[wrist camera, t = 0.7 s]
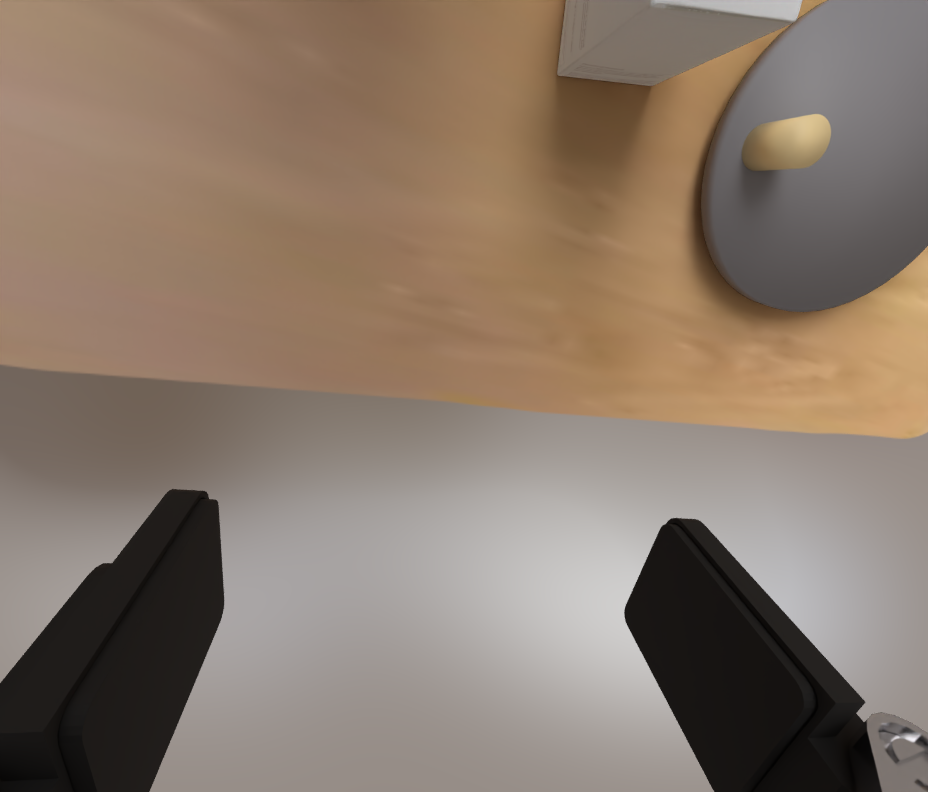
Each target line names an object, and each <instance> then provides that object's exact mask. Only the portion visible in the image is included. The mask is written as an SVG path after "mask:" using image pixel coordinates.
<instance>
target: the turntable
mask: <svg viewBox="0 0 928 792" xmlns="http://www.w3.org/2000/svg"><path fill="white" fill-rule="evenodd" d="M701 215H702V227H703V232H704V237H705V242H706V245H707V247H708V250H709V253H710V256H711V258H712V260H713V262H714V264H715V266H716V268H717V270H718V271H719V273H720V274H721V275H722V276H723V278H724V279H725V280H726V282H727V283H728V284H729V285H731V286H732V287H733V288H734V289H735V290H736V291H737V292H739V293H740V294H742V295H743V296H745V297H747V298H748V299H750V300H753V301H755V302H758V303H760V304H763V305H766V306H770V307H773V308H777V309H781V310H786V311H795V312H809V311H819V310H824V309H828V308H833V307H836V306H839V305H842V304H845V303H848V302H851V301H853V300H855V299H857V298H859V297H861V296H864V295H866V294H868V293H869V292H871V291H873V290H874V289H876V288H878V287H879V286H881V285H883V284H884V283H886V282H887V281H888V280H890V279H891V278H892V277H894V276H895V275H897V274H898V273H899V272H900V271H902V270H903V269H904V268H905V267H906V266H907V265H908V264H910V263H911V262H912V261H913V260H914V259H915V258H916V257H917V256H918V255H919V254H920V253H921V252H922V251H923V250H924V249H925V248H926V247H927V246H928V0H827V1H825V2H823V3H821V4H819V5H817V6H816V7H814V8H813V9H811V10H810V11H808V12H807V13H806V14H804V15H803V16H801V17H800V18H798V19H797V20H796V21H795V22H794V23H792V24H791V25H790V26H789V27H788V28H786V29H785V30H784V31H783V32H782V33H781V34H780V35H778V36H777V37H776V38H775V40H774V41H773V42H772V43H771V44H770V45H769V46H768V47H767V48H766V49H765V50H764V51H763V53H762V54H761V55H760V56H759V57H758V58H757V60H756V61H755V62H754V64H753V65H752V66H751V68H750V69H749V70H748V72H747V73H746V74H745V76H744V77H743V79H742V80H741V82H740V84H739V85H738V87H737V89H736V90H735V92H734V93H733V95H732V97H731V98H730V100H729V102H728V104H727V106H726V109H725V111H724V113H723V115H722V117H721V119H720V121H719V124H718V126H717V129H716V131H715V134H714V137H713V139H712V142H711V146H710V149H709V153H708V157H707V160H706V164H705V170H704V176H703V182H702V194H701Z"/></svg>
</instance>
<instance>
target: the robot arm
mask: <svg viewBox="0 0 928 792" xmlns="http://www.w3.org/2000/svg"><path fill="white" fill-rule="evenodd" d="M223 609H224V589H223V572H222V557H221V540H220V523H219V507H218V502H217V500H212V499H209V497H208V494H207V492H205V491H195V490H177V489H172V490H170V491H168V492H167V494H165V496H164V497H163V498H162V500H161V501H160V502H159V504H158V505H157V506H156V507H155V509H154V510H153V511H152V513H151V514H150V515H149V517H148V518H147V519H146V520H145V522H144V523H143V524H142V525H141V527H140V528H139V529H138V531H137V532H136V533H135V535H134V536H133V537H132V538H131V540H130V541H129V543H128V544H127V545H126V546H125V548H124V549H123V550H122V551H121V553H120V554H119V555H118V557H117V558H116V559H115V560H114V562H113V563H103V564H101V565H99V566H98V567H96V568H95V569H94V570H93V571H92V572H91V573H90V574H89V575H88V576H87V577H86V578H85V580H84V581H83V582H82V583H81V584H80V586H79V587H78V588H77V590H76V591H75V592H74V593H73V594H72V596H71V597H70V598H69V599H68V601H67V602H66V603H65V604H64V605H63V607H62V608H61V609H60V610H59V612H58V613H57V614H56V615H55V616H54V618H53V619H52V620H51V622H50V623H49V624H48V625H47V627H46V628H45V629H44V630H43V631H42V633H41V634H40V635H39V636H38V638H37V639H36V640H35V641H34V642H33V644H32V645H31V646H30V647H29V649H28V650H27V651H26V652H25V653H24V655H23V656H22V657H21V658H20V660H19V661H18V662H17V663H16V665H15V666H14V667H13V668H12V670H11V671H10V672H9V673H8V674H7V676H6V677H5V678H4V679H3V681H2V682H1V683H0V792H149V791H150V789H151V786H152V784H153V782H154V779H155V777H156V774H157V772H158V770H159V767H160V765H161V762H162V760H163V758H164V755H165V753H166V750H167V748H168V746H169V743H170V740H171V738H172V736H173V734H174V731H175V729H176V726H177V724H178V722H179V719H180V717H181V715H182V712H183V710H184V707H185V705H186V703H187V700H188V698H189V695H190V693H191V691H192V688H193V686H194V683H195V681H196V678H197V676H198V674H199V671H200V669H201V666H202V664H203V662H204V659H205V657H206V654H207V652H208V650H209V647H210V645H211V643H212V640H213V638H214V635H215V633H216V631H217V628H218V626H219V623H220V621H221V618H222V614H223ZM624 613H625V620H626V623H627V625H628V627H629V629H630V631H631V633H632V635H633V637H634V639H635V641H636V643H637V645H638V647H639V649H640V651H641V652H642V654H643V656H644V658H645V660H646V662H647V664H648V666H649V668H650V670H651V672H652V673H653V675H654V677H655V679H656V681H657V683H658V685H659V687H660V689H661V691H662V693H663V695H664V696H665V698H666V700H667V702H668V704H669V706H670V708H671V710H672V712H673V714H674V716H675V718H676V720H677V721H678V723H679V725H680V727H681V729H682V731H683V733H684V735H685V737H686V739H687V740H688V743H689V744H690V746H691V748H692V750H693V752H694V754H695V756H696V758H697V760H698V762H699V764H700V766H701V767H702V769H703V771H704V773H705V775H706V777H707V779H708V781H709V783H710V785H711V787H712V789H713V790H714V792H928V733H927V732H925V731H924V730H922V729H921V728H919V727H918V726H916V725H914V724H913V723H911V722H909V721H907V720H904V719H902V718H900V717H897V716H895V715H891V714H887V713H882V712H881V713H875V714H871V716H870V717H869V718H868V719H867V720H866V721H865V722H863V721H862V720H861V718H860V717H859V716H858V715H857V714H856V713H857V712H858V710H859V709H860V708H861V707H862V705H863V704H864V703H865V701H864V700H863V699H862V698H861V697H860V695H859V694H858V693H857V692H856V691H855V690H854V689H853V688H852V687H851V686H850V685H849V683H848V682H847V681H846V680H845V679H844V678H843V677H842V676H841V675H840V673H839V672H838V671H837V670H836V669H835V668H834V667H833V666H832V665H831V664H830V663H829V661H828V660H827V659H826V658H825V657H824V656H823V655H822V654H821V653H820V652H819V651H818V649H817V648H816V647H815V646H814V645H813V644H812V643H811V642H810V640H809V639H808V638H807V637H806V636H805V635H804V634H803V633H802V632H801V631H800V629H799V628H798V627H797V626H796V625H795V624H794V623H793V622H792V621H791V620H790V619H789V617H788V616H787V615H786V614H785V613H784V612H783V611H782V610H781V609H780V608H779V606H778V605H777V604H776V603H775V602H774V601H773V600H772V599H771V598H770V596H769V595H768V594H767V593H766V592H765V591H764V590H763V589H762V588H761V587H760V585H759V584H758V583H757V582H756V581H755V580H754V579H753V578H752V577H751V576H750V575H749V573H748V572H747V571H746V570H745V569H744V568H743V567H742V566H741V565H740V563H739V562H738V561H737V560H736V559H735V558H734V557H733V556H732V555H731V554H730V552H729V551H728V550H727V549H726V548H725V547H724V546H723V545H722V544H721V543H720V541H719V540H718V539H717V538H716V537H715V536H714V535H713V534H712V533H711V532H710V530H709V529H708V528H707V527H706V526H705V525H704V524H703V523H702V522H701V521H699V520H696V519H681V518H673V519H670V520H669V521H668V522H667V523H666V524H665V525H663V526H662V527H661V529H660V531H659V533H658V535H657V537H656V539H655V542H654V544H653V546H652V548H651V551H650V553H649V555H648V557H647V560H646V562H645V564H644V566H643V568H642V571H641V573H640V575H639V577H638V580H637V582H636V584H635V586H634V588H633V591H632V593H631V595H630V597H629V600H628V602H627V604H626V607H625V612H624Z"/></svg>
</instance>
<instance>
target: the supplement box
mask: <svg viewBox="0 0 928 792" xmlns="http://www.w3.org/2000/svg"><path fill="white" fill-rule="evenodd" d="M801 3H802V0H566V3H565V12H564V20H563V29H562V37H561V46H560V54H559V63H558V70H557V75H558V76H567V77H574V78H584V79H592V80H602V81H610V82H620V83H628V84H637V85H646V86H654V85H656V84H658V83H660V82H662V81H664V80H667V79H669V78H671V77H674V76H676V75H678V74H680V73H683V72H685V71H687V70H689V69H691V68H694V67H696V66H698V65H700V64H703V63H705V62H707V61H709V60H712V59H714V58H716V57H719V56H721V55H723V54H725V53H728V52H730V51H732V50H734V49H736V48H739V47H741V46H743V45H745V44H748V43H750V42H752V41H754V40H756V39H758V38H761V37H763V36H765V35H767V34H769V33H772V32H774V31H776V30H779V29H781V28H783V27H785V26H788V25H790V24H792V23H794V22H795V21H796V20H797V17H798V14H799V10H800V7H801Z"/></svg>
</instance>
